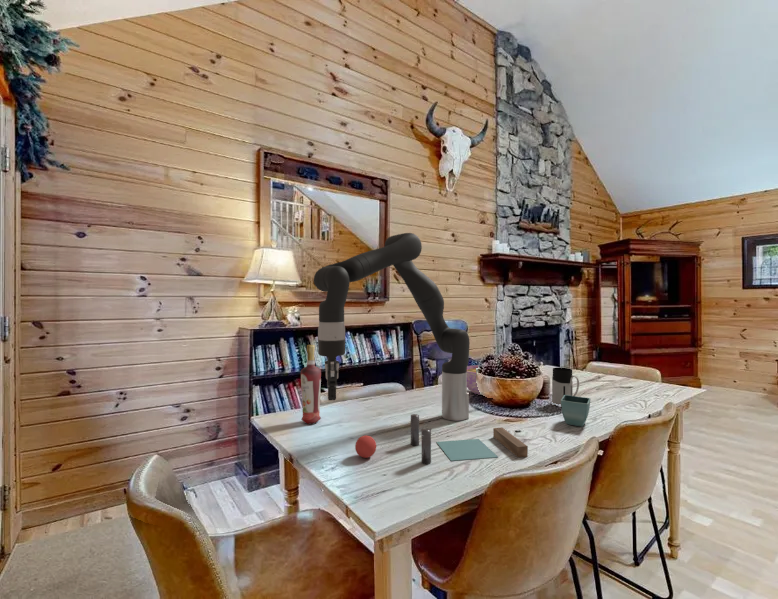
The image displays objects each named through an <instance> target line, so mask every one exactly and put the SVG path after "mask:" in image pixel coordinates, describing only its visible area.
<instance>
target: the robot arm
mask: <svg viewBox="0 0 778 599" xmlns="http://www.w3.org/2000/svg"><path fill="white" fill-rule="evenodd" d="M422 245H423V244H422V240H421V239H420V238H419V236H418V235H417V234H415V233H411V232H405V233H403V232H402V233H400V234H399V233H398V234H394V235H391V236H389V237H388V238H387V239H386V240H385V243H384V246H382V247H380V248H377V249H372V250H369V251H365V252H362V253H359V254H357V255H354V256H352V257H349V258H347V259H346V260H343V261H339V262H334V263H332V264H328V265H326V266H322V267H320V268H319V269H318V270H317V271H316V272H315V274H314V276H313V283H314V285H315V287H316V289H318V290H319V291H321V292H327V294H326V298H325V299H324V300H323V301H321V302H320V303H319V306H318V328H317V343H318V344H317V350H318V352H317V354H318V355H319V356H320V357H327V360H324V369H325V379H326V381H327V382H326V386H327V400H328V401H336V400H337V386H338V379H339V369H340V361H339V360H337V357H340V356H341V357H342V356H344V355H345V354H346V326H345V305H346V301H347V298H348V294H349V293H348V292H349V288H350V283H354V282H358V281H360V280H362V279H366V277H370V276H372V275H373V274H375V273H377V272H379V271H382V270H384V269H386V268H388V267H392V266H393V267H394V269H395V271H396V272H397V273H398V274H399V276H400V277H401V279H402V280H403V281H404V283H405V285H406V287H407V289H408V290H409V292H410V294H411V295H412V297H413V299H414V302H415V303H416V305H417V306H418V308H419V310H420V311H421V314H422V315H423V316H424V318H425V320H426V322H427V324H428V326H429V328H430V330H431V332H432V335H433V337H434V340H435V342H436V344H437V346H438V348H439V349H440V351H442V352H444V353H447V354H451V359H450V360H449V361H446V362H444V363H442V366H441V417H442V418H443V419H445V420H447V421H456V422H458V421H465V420H468V419H469V418H470V415H469V414H470V412H469V411H470V409H469V408H470V407H469V406H470V398H469V397H470V396H469V395H470V394H469V392H468V390H467V389H468V388H467V366H469V360H470V337H469V334H468V332H467V331H466V330H464V329H459V328H451V327H449V325H448V324H447V323H446V321H445V319H444V308H445V300H444V297H443V295H442V293H441V291H440V289H439V287H438V285H437V284H436V283H435V282H434V281H433V280H432V279H431V278H430V277H429V276H427V274H425V273H424V272H422V271H421V270H420V269H418V267H417V266H416V265H415V263H414V262H413V261H414V260H416V259H417V258H418V257H419V256H420V254H421V252H422V249H423V246H422Z"/></svg>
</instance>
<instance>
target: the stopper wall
mask: <svg viewBox="0 0 778 599" xmlns="http://www.w3.org/2000/svg"><path fill="white" fill-rule="evenodd" d="M492 433H493V434H492V435H493V436H492V437H493V439H495V440H496V441H497V442H498V443H500V444H501V445H502V446H504V447H505V448H506V449H507V450H508V451H509V452H511V454H513V455H515V457H517V458H528V450H529V449H528V448H529V446H528V445H526V443H524V442H523V441H522V440H520V439H518V438H517V437H516V436H515V435H513V434H512V433H510V432H509V431H508V430H507V429H505V428H504V427H493V432H492Z"/></svg>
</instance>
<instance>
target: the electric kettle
mask: <svg viewBox="0 0 778 599" xmlns="http://www.w3.org/2000/svg"><path fill="white" fill-rule="evenodd" d="M573 378H575V379H576V383H577V384H576V390H575V393H574V394H573V392H574V391H573V390H574V389H573V387H574V385H573V383H574V382H573ZM551 380H552V381H551V383H552V385H551V388H552V389H551V390H552V392H551V402H553V403H556V404H561V399H562V398H563V396H564V395H570V396H577V394H578V393H579V392H578V391H579V389H580V380H579V378H578V376H577V375H573V369H572V368H568V367H558V366H557V367H553V368H552V377H551Z"/></svg>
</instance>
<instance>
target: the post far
mask: <svg viewBox="0 0 778 599" xmlns="http://www.w3.org/2000/svg"><path fill="white" fill-rule="evenodd" d="M419 445H420V415H419V414H418V413H416V414H415V413H413V414H410V446H413V447H418V446H419Z"/></svg>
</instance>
